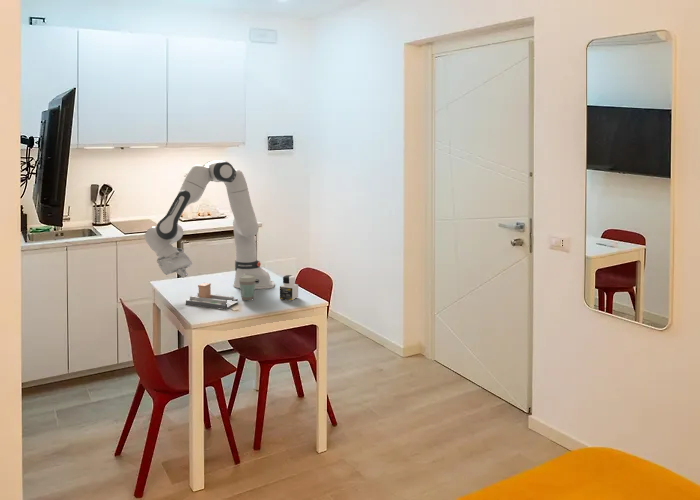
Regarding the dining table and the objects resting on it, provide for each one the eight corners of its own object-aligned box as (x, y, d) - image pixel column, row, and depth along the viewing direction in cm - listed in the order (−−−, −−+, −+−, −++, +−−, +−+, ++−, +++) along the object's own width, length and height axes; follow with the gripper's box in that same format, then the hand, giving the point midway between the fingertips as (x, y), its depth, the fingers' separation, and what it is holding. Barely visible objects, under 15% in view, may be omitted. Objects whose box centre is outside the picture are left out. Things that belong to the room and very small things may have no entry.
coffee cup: (241, 296, 321) (241, 274, 319) (257, 297, 320) (257, 274, 318) (237, 301, 313) (236, 278, 310) (253, 301, 312) (253, 278, 310)
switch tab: (198, 299, 307) (197, 285, 306) (204, 296, 312) (203, 282, 311) (205, 300, 306) (205, 286, 304) (211, 297, 311) (210, 283, 309)
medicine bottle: (279, 299, 317) (279, 276, 315) (286, 296, 323) (285, 273, 321) (292, 301, 314) (292, 278, 312) (298, 297, 321) (298, 275, 319)
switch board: (185, 304, 306) (185, 297, 305) (199, 298, 317) (199, 291, 316) (225, 309, 299) (224, 302, 298) (237, 302, 310) (237, 296, 309)
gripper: (158, 255, 301) (176, 277, 300) (183, 247, 320) (200, 268, 318) (151, 263, 303) (169, 285, 302) (176, 255, 322) (193, 276, 321)
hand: (185, 276), depth 310 cm, fingers closed
